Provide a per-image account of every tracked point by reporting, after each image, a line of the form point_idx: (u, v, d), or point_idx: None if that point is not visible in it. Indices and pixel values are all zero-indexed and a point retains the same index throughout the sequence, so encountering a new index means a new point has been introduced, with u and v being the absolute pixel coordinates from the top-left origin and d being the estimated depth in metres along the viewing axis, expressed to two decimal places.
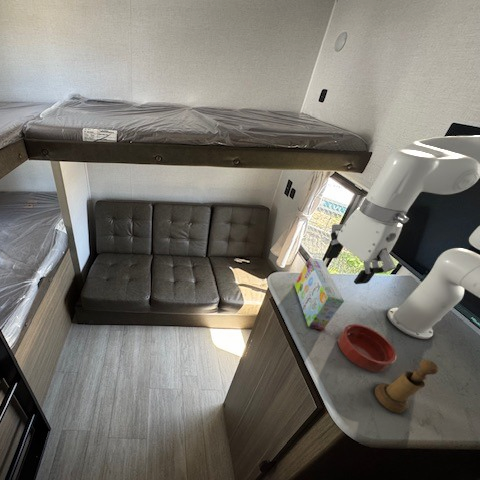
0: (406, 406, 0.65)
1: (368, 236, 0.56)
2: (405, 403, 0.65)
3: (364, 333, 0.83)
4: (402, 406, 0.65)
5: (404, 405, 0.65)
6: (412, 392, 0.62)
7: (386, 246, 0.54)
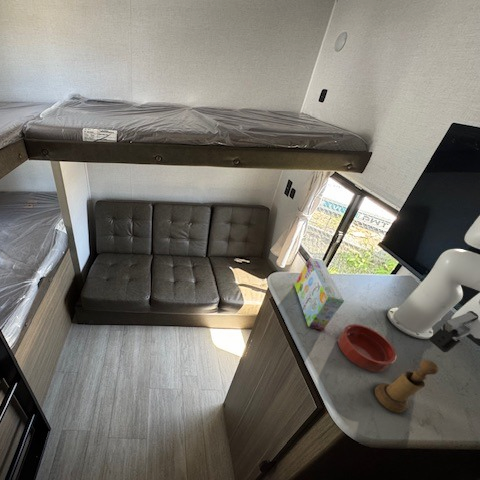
0: (406, 406, 0.65)
1: None
2: (405, 403, 0.65)
3: (364, 333, 0.83)
4: (402, 406, 0.65)
5: (404, 405, 0.65)
6: (412, 392, 0.62)
7: (477, 311, 0.47)
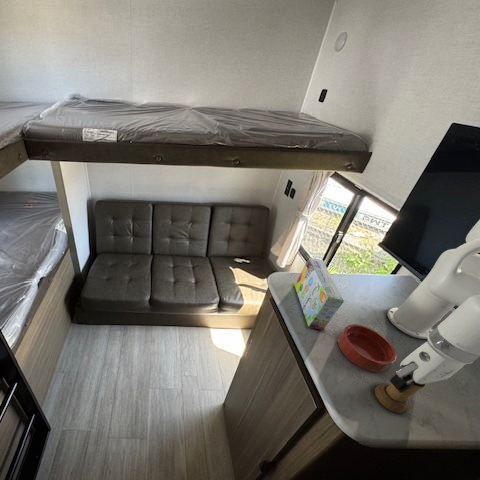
0: (406, 406, 0.65)
1: None
2: (405, 403, 0.65)
3: (364, 333, 0.83)
4: (402, 406, 0.65)
5: (404, 405, 0.65)
6: (412, 392, 0.62)
7: (418, 362, 0.57)
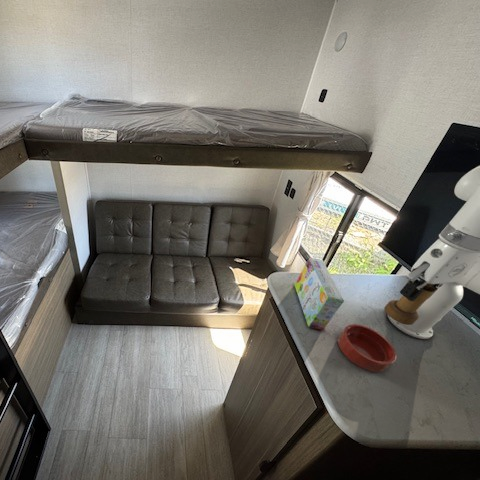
0: (416, 317, 0.65)
1: None
2: (415, 314, 0.65)
3: (364, 333, 0.83)
4: (412, 317, 0.65)
5: (414, 316, 0.65)
6: (423, 299, 0.62)
7: (429, 261, 0.57)
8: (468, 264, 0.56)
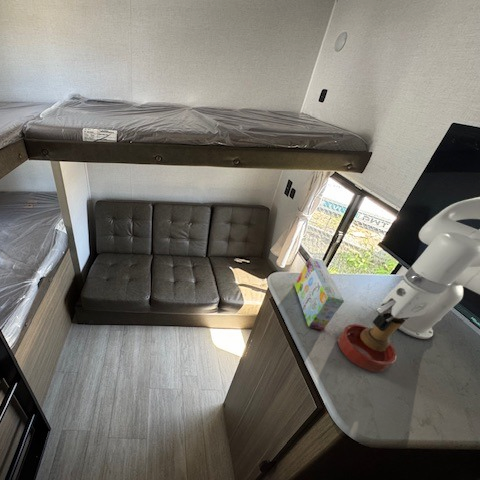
0: (387, 345, 0.73)
1: None
2: (386, 342, 0.73)
3: None
4: (383, 344, 0.72)
5: (385, 344, 0.73)
6: (392, 330, 0.70)
7: (395, 298, 0.65)
8: (429, 302, 0.63)
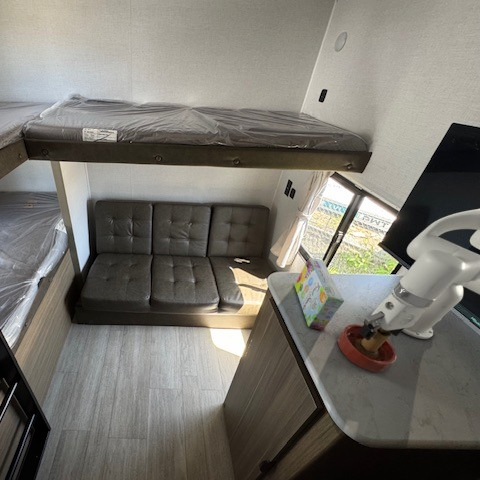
0: (377, 355, 0.76)
1: None
2: (376, 353, 0.76)
3: None
4: (373, 355, 0.76)
5: (375, 355, 0.76)
6: (381, 342, 0.73)
7: (384, 311, 0.68)
8: (416, 315, 0.66)
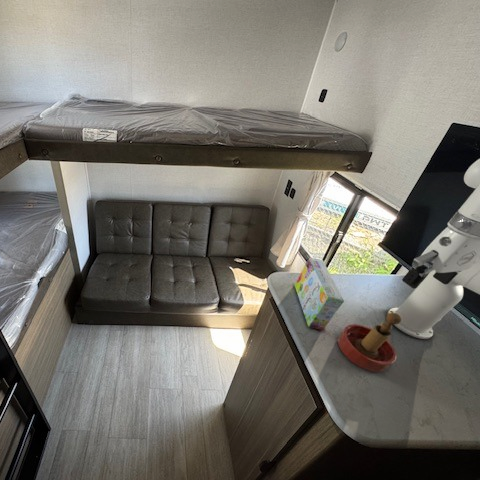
0: (377, 355, 0.76)
1: None
2: (376, 353, 0.76)
3: (364, 333, 0.83)
4: (373, 355, 0.76)
5: (375, 355, 0.76)
6: (381, 342, 0.73)
7: (438, 249, 0.56)
8: (477, 252, 0.55)
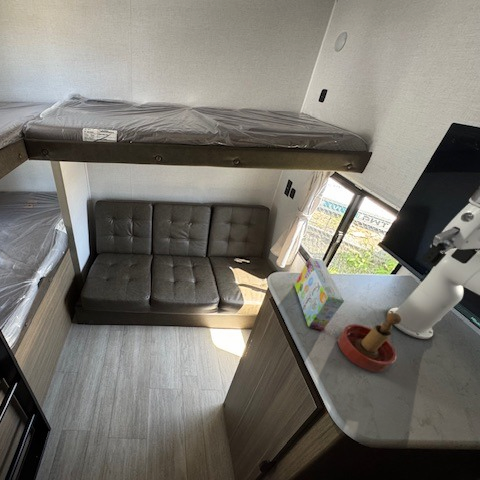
0: (377, 355, 0.76)
1: None
2: (376, 353, 0.76)
3: (364, 333, 0.83)
4: (373, 355, 0.76)
5: (375, 355, 0.76)
6: (381, 342, 0.73)
7: (459, 225, 0.57)
8: None
